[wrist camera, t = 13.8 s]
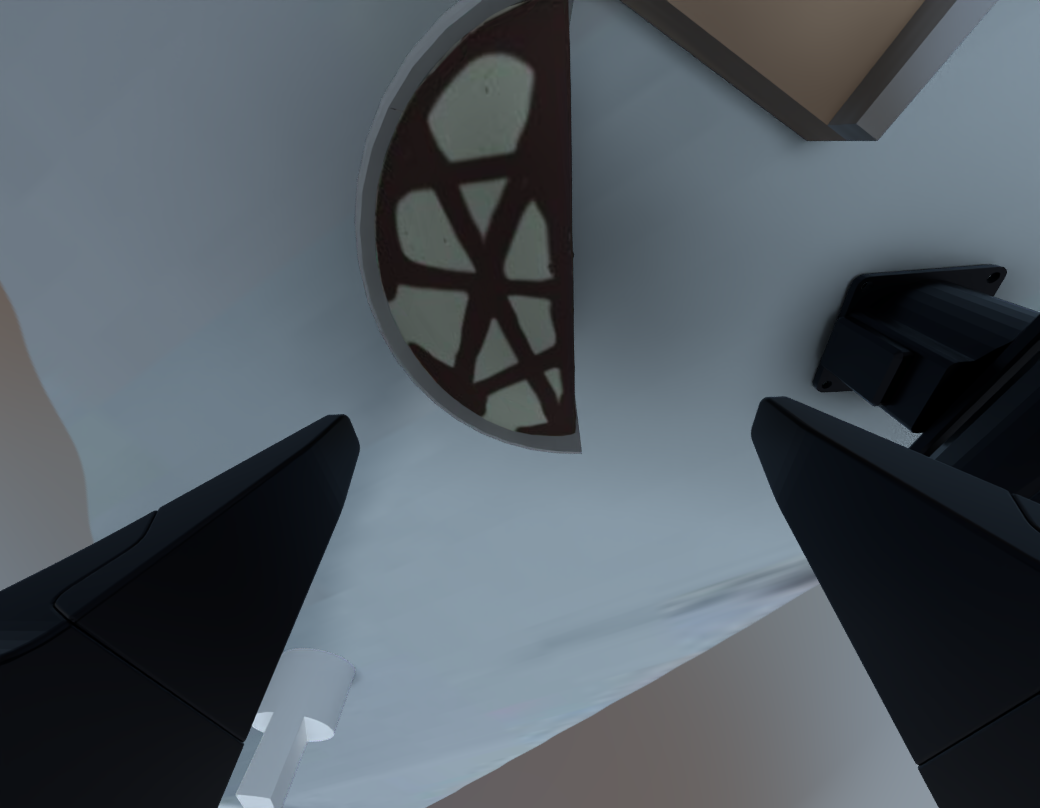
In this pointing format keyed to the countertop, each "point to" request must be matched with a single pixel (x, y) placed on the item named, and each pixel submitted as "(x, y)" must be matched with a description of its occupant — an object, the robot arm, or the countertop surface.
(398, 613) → the countertop surface
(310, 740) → the cylinder with rectangular tab
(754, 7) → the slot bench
